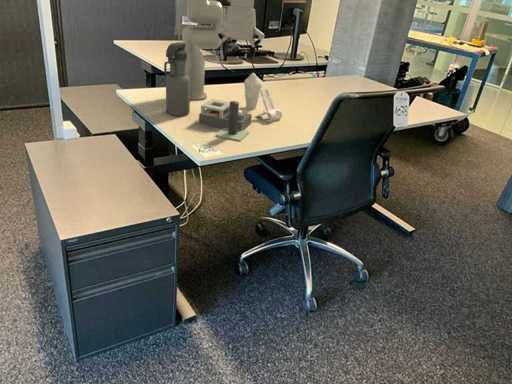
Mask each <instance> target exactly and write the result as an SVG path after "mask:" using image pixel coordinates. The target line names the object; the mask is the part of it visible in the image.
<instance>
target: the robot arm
mask: <svg viewBox="0 0 512 384" xmlns="http://www.w3.org/2000/svg"><path fill="white" fill-rule="evenodd" d="M227 2H228V3H230V5H229V6H227V9H226V13H225V14H226V15H225V20H224V9H223V5H222V4H221V2H220V1H217V0H186V18H187V21H189V22H191V23H195V24H207V25H206V26H205V25H188V26H185V27H184V28H183V30H182V33H181V34H182V35H181V37H182V38H181V39H182V43H186V47H185V51H186V52H187V70H186V75H187V76H188V77H189V78H190V101H200V100H206V99H207V97H208V95H207V93H206V92H205V91H204V90H205V73H206V72H205V71H206V69H205V67H206V60H205V56H204V54H203V53H202V51H201V50H202V49H206V50H208V49H209V50H210V49H211V50H216V49H219V48H220V46H221V44H222V47H221V51H222V55H226V54H229V43H230V42H229V39H232V40H238V41H244V42H248V43H249V45H250V47H249V51H248V59H249V60H252V59H254V57H255V56H256V48H257V46H258V45H260V44H261V43H262V41H263V40H264V38H265V37H266V36H265V33H263V32H262V31H261V30H259V29H258V28H257V27H256V26H257V21H256V19H257V18H256V9H255V8H254V5H255V0H227ZM224 21H225V22H224ZM208 24H210V26H208ZM256 36H258V38H257V39H255V37H256Z"/></svg>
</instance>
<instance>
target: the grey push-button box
mask: <svg viewBox="0 0 512 384" xmlns="http://www.w3.org/2000/svg"><path fill="white" fill-rule="evenodd" d="M230 102H231V101H226V100H225V101H224V100H221V99H220V100H219V99H215V98H214V99H213V98H212V99H210V100H208V101H206V102H205V103H203V104H201V105H200V113H199V114H198V124H199V125H203V126H208V127H213V128H217V129H221V130H222V129H223V128H228V127H229V109H230ZM241 110H242V109H241ZM214 112H218V113H219V115H217V114H212V113H214ZM252 116H253V115H252V114H251V113H248V110H242V114H241V115H240V114H238V126H237V130H239V131H242V130H243V131H245V130H246V129H247V128H248V127H249V126H250V125H251V123H252Z"/></svg>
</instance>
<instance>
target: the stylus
mask: <svg viewBox="0 0 512 384" xmlns="http://www.w3.org/2000/svg"><path fill="white" fill-rule="evenodd" d="M229 102H230V109H229V127H228V134H231V135H236V134H237V126H238V112H239V110H240V109H239V108H240V102H239V101H236V100H231V101H229Z"/></svg>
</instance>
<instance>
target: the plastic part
mask: <svg viewBox="0 0 512 384" xmlns="http://www.w3.org/2000/svg"><path fill="white" fill-rule="evenodd" d="M260 96H261V99H262V102H263V105H264V109H265V110H263V112H262V113H260V112H258V113H257V115H255V116H254V118H259V117H261V116H265V115H267V119H266V120H265V122H267V123H273V122H275V121H278V120H281V119H282V117H283V112H282V110H281V109H279V108H275V105H274V102H273V100H272V97H271V93H270V91H269V88H266V89H264V90H262V89H261V90H260Z"/></svg>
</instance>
